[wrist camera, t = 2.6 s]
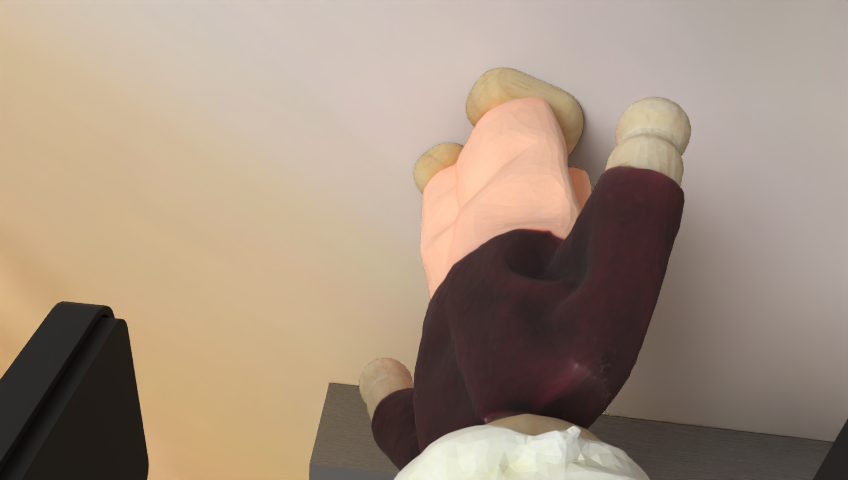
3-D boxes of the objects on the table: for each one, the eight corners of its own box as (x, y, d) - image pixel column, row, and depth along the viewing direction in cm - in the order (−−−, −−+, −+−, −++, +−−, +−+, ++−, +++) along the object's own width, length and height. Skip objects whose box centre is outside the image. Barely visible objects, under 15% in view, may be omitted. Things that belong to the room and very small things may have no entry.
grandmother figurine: (502, 288, 20) (528, 912, 9) (368, 231, 19) (226, 834, 8) (676, 27, 16) (1085, 588, 5) (515, -56, 15) (597, 393, 4)
